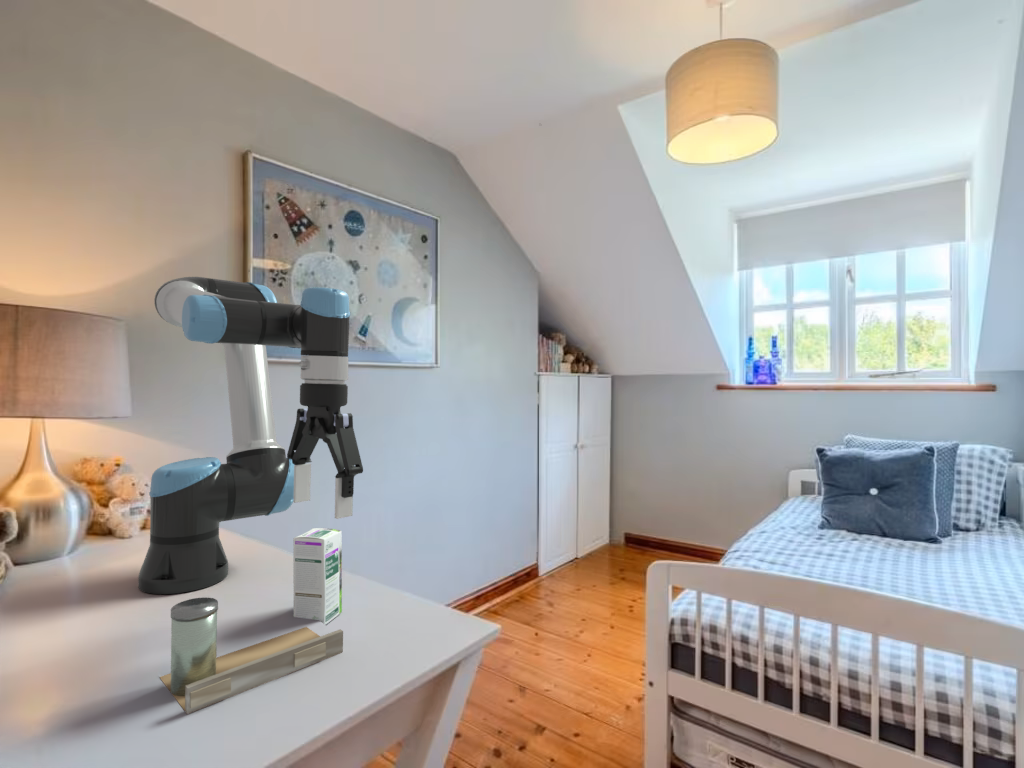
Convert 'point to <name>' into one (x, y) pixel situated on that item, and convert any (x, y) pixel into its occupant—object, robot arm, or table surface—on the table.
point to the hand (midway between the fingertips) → (321, 509)
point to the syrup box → (318, 574)
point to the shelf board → (258, 666)
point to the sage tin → (193, 642)
